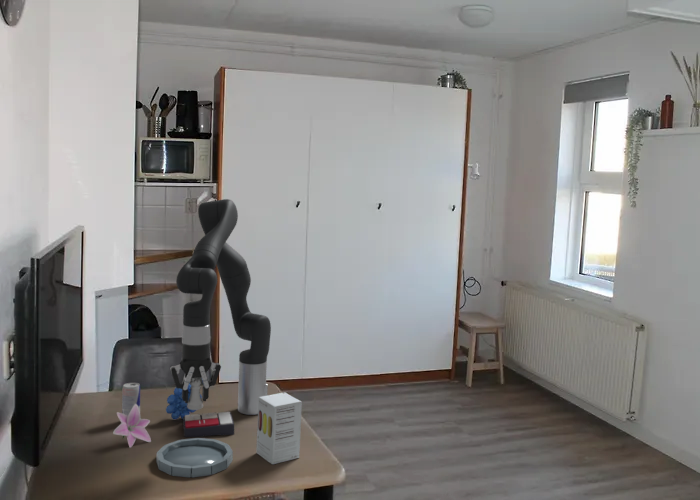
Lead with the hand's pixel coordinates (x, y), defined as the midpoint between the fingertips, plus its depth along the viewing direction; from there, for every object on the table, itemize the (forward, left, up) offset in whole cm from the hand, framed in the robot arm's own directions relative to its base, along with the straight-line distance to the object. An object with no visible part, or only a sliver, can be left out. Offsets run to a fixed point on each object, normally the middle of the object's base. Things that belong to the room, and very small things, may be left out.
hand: (195, 401), depth 184 cm
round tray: (0, 0, -17) cm, 17 cm away
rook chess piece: (0, 0, -2) cm, 2 cm away
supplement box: (-23, +3, -17) cm, 29 cm away
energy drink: (+14, -35, -17) cm, 41 cm away
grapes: (-2, -34, -17) cm, 38 cm away
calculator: (-8, -22, -18) cm, 29 cm away
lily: (+15, -18, -17) cm, 29 cm away
